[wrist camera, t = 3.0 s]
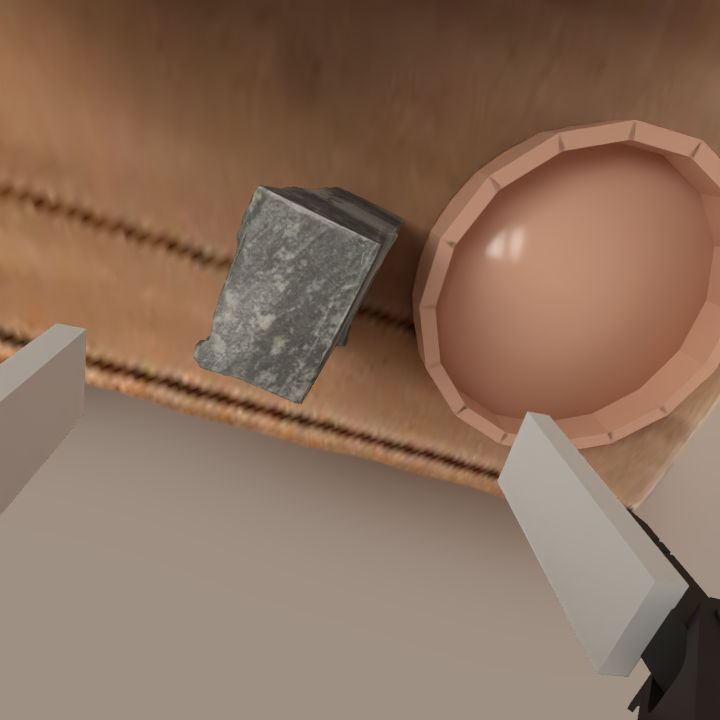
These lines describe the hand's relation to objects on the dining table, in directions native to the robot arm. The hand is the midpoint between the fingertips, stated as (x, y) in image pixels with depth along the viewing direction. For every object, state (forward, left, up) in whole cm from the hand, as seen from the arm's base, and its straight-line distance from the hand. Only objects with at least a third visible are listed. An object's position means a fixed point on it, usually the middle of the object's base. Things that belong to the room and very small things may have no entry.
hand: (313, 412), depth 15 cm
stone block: (0, 0, -21) cm, 21 cm away
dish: (+18, +1, -20) cm, 27 cm away
